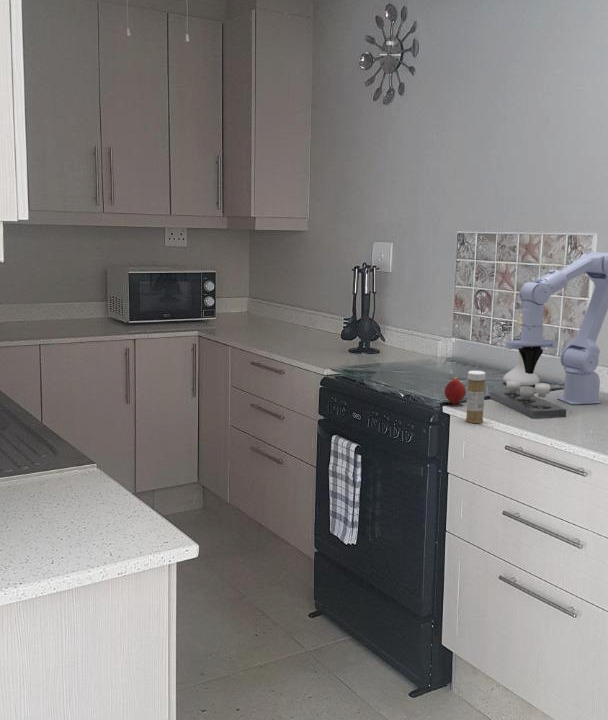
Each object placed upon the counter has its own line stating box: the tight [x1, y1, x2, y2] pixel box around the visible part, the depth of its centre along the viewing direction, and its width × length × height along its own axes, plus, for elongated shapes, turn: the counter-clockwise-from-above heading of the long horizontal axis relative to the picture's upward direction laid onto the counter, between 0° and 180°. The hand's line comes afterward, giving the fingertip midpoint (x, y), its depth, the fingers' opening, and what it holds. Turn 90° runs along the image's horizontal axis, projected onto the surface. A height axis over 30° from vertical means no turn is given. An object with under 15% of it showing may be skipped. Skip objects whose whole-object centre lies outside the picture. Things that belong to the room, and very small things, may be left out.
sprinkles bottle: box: [465, 370, 486, 424], centre depth 219 cm, size 5×5×13 cm
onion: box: [444, 376, 466, 405], centre depth 239 cm, size 6×6×8 cm
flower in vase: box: [502, 313, 545, 387], centre depth 264 cm, size 13×11×25 cm
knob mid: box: [520, 386, 535, 400], centre depth 237 cm, size 4×4×3 cm
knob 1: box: [505, 381, 521, 394], centre depth 244 cm, size 4×4×3 cm
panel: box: [489, 390, 567, 419], centre depth 237 cm, size 10×25×2 cm, turn 15°
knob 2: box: [534, 382, 551, 399], centre depth 229 cm, size 4×4×3 cm
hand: (529, 373), depth 235 cm, fingers closed
